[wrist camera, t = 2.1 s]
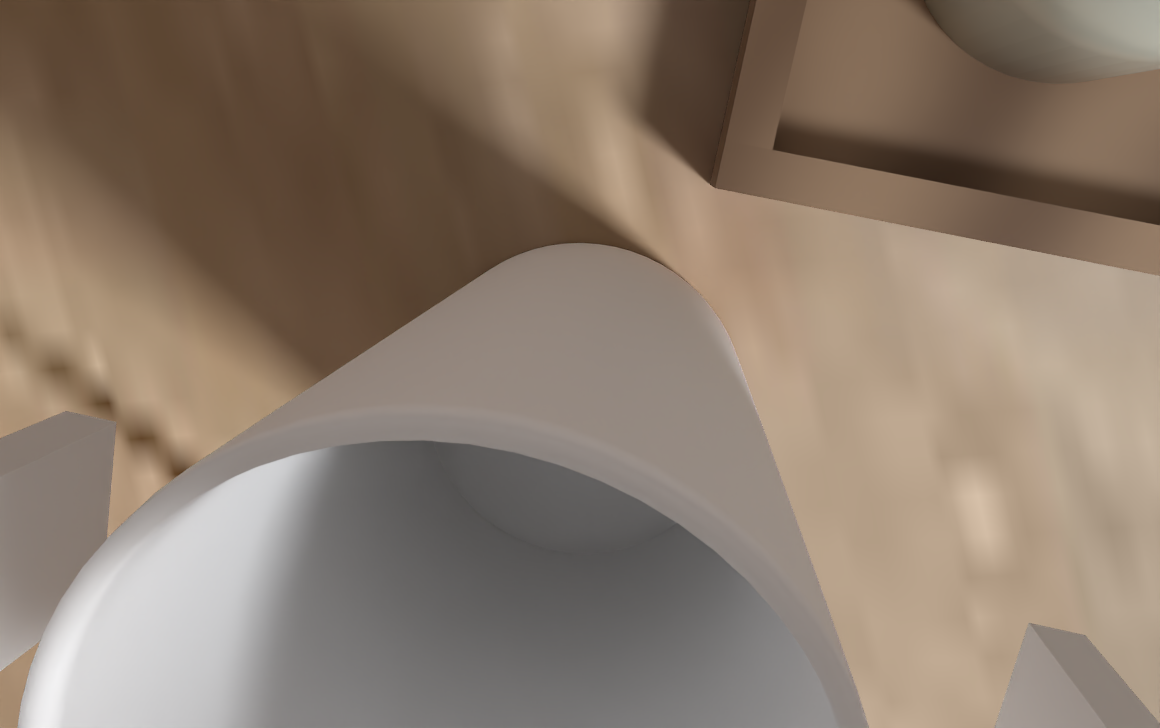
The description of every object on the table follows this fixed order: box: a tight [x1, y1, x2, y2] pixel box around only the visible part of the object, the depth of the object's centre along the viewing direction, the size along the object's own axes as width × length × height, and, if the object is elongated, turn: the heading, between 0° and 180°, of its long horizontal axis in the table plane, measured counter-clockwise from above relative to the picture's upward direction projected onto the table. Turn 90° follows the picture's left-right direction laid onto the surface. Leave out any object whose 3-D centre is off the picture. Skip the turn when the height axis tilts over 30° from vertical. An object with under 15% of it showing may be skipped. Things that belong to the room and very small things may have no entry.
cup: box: [18, 243, 869, 728], centre depth 17 cm, size 8×8×16 cm
